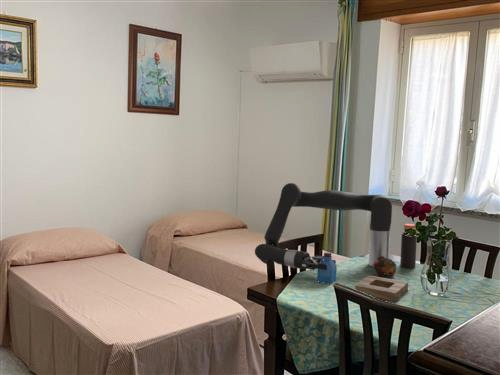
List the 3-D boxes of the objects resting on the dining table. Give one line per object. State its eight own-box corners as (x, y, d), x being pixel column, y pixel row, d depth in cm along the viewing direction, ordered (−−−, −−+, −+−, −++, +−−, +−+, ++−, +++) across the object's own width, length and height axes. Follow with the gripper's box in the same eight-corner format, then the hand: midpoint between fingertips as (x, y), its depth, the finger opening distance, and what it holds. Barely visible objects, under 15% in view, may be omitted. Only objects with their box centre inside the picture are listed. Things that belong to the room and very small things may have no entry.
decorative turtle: (388, 270, 226) (389, 253, 225) (402, 281, 211) (403, 262, 210) (368, 271, 225) (368, 254, 224) (380, 281, 210) (381, 263, 209)
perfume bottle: (317, 282, 209) (318, 254, 207) (322, 278, 214) (323, 250, 213) (331, 284, 206) (332, 256, 205) (336, 280, 211) (337, 252, 210)
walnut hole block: (369, 283, 207) (369, 275, 207) (407, 290, 199) (408, 282, 198) (354, 294, 194) (355, 285, 194) (395, 302, 185) (395, 293, 185)
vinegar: (397, 266, 233) (399, 224, 231) (405, 263, 238) (407, 222, 235) (410, 269, 228) (412, 226, 226) (418, 266, 233) (420, 224, 230)
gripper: (289, 254, 211) (324, 260, 202) (304, 247, 223) (338, 252, 214) (288, 271, 212) (323, 278, 203) (304, 263, 224) (337, 269, 215)
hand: (331, 265), depth 208 cm, fingers open, 8 cm apart
